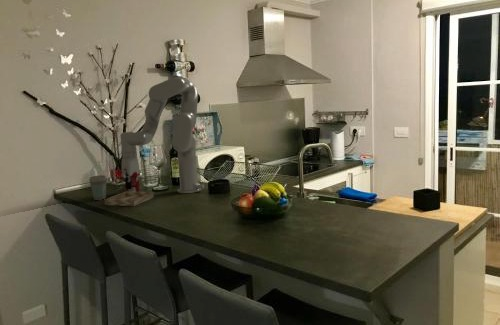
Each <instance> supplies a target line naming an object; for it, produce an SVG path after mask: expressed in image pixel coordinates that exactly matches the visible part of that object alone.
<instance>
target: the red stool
mask: <svg viewBox="0 0 500 325" xmlns="http://www.w3.org/2000/svg"><path fill="white" fill-rule="evenodd" d="M127 176H128V175H127ZM127 179H128V177H127ZM130 182H131V189H126V192H141V190H140V186H139V184H140V178H138V173H137V171H136V172H133V174H132V176H131V177H130Z"/></svg>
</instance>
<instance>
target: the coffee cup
mask: <svg viewBox="0 0 500 325" xmlns="http://www.w3.org/2000/svg"><path fill="white" fill-rule="evenodd" d="M88 182H89V184H90V188H91V192H92V196H93V200H94V201H95V200H100V201H103V200H102V199H105V198H106V199H107V177H106V175H102V174H101V175H94V176H91V177H89V181H88Z"/></svg>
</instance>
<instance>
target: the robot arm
mask: <svg viewBox="0 0 500 325" xmlns="http://www.w3.org/2000/svg"><path fill="white" fill-rule="evenodd" d="M177 95H181V97H182V98H181V102H180V111H179V113H178V114H177V115H176V116H175V117H174V121H173V127H172V129H173V130H172V140H171V145H172V148H173V150H175V152H177V165H178V177H179V178H178V179H179V188H178V189H177V193H179V194H194V193H198V192H200V191H201V190H202V189H205V183H202V184H201V183H200V181H198V171H197V170H198V168H197V154H196V151H197V148H196V146H197V143H196V138H195V136H194V135H193V129H194V127H195V126H196V124H197V113H198V102H199V93H198V89H197V87H196V84H194V83H193V82H192V81H191V80H190V79H187V78H185V77H181V76H175V77H171V78H169V79H166V80H163V81H162V82H159V83H156V84H154V85H153V86H151V87H150V88H149V90H148V98H149V100H148V102H147V105H146V107H145V109H144V116H145V121H144V124H143V126H142V129H141V130H139V131H136V132H133V131H127V132H126V131H125V132H122V133H120V137H119V138H120V144H121V145H120V146H121V154H122V155H121V156H122V158H121V178H122V179H123V181H124V182H125V190H127V189H131V182H130V177H131V176H132V174H133V172H136V171H137V173H138V178H139V179H141V178H140V176H141V173H142V170H141V169H140V164H139V159H138V155H137V154H138V153H137V147H139V146H140V147H142V146H145V145H148V144H150V143H152V141H153V139H154V136H155V135H156V132H157V130H158V128H159V123H160V119H161V116H162V114H163V112H164V110H165V107H166V105H167V103H168V101H169V99H170V98H172V97H175V96H177ZM127 175H128V176H127ZM127 177H128V179H127ZM139 187H140V183H139Z"/></svg>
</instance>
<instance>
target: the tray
mask: <svg viewBox="0 0 500 325" xmlns="http://www.w3.org/2000/svg"><path fill="white" fill-rule="evenodd" d="M154 198H155V195H154V191H140V192H127V191H123V192H121V193H118V194H115V195H113V196H110V197H106V199H104V200H103V201H104V206H123V207H124V206H125V207H126V206H127V207H136V206H137V205H140V204H142V203H144V202H147V201H149V200H151V199H154Z"/></svg>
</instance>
